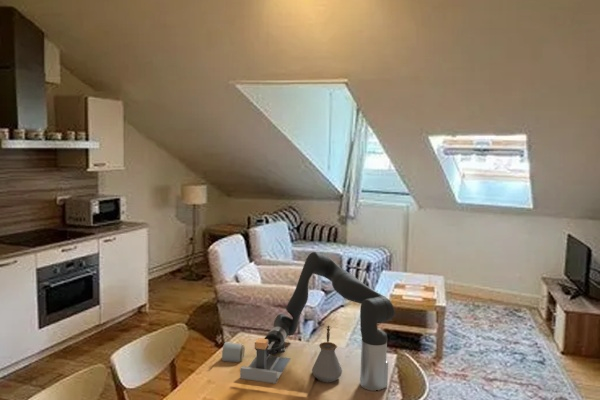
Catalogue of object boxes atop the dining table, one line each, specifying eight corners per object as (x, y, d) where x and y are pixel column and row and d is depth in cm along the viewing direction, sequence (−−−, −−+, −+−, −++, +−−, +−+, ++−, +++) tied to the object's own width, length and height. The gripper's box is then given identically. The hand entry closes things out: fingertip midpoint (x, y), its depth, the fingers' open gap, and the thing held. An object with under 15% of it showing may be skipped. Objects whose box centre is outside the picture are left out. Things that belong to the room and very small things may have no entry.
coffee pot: (342, 385, 183) (343, 347, 182) (311, 384, 184) (312, 345, 182) (341, 360, 205) (342, 325, 203) (313, 359, 205) (314, 324, 204)
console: (257, 356, 206) (258, 344, 205) (290, 361, 203) (290, 348, 202) (239, 381, 185) (239, 368, 184) (275, 386, 182) (276, 373, 181)
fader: (258, 371, 190) (258, 338, 188) (267, 373, 189) (268, 339, 187) (254, 376, 186) (255, 342, 184) (264, 377, 185) (265, 343, 184)
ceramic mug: (241, 366, 198) (242, 347, 197) (221, 365, 198) (221, 346, 197) (246, 355, 208) (246, 337, 207) (227, 354, 209) (227, 336, 208)
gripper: (260, 328, 206) (246, 344, 189) (291, 331, 203) (279, 348, 186) (260, 345, 207) (246, 363, 190) (290, 349, 204) (279, 367, 187)
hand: (262, 356), depth 188 cm, fingers closed
